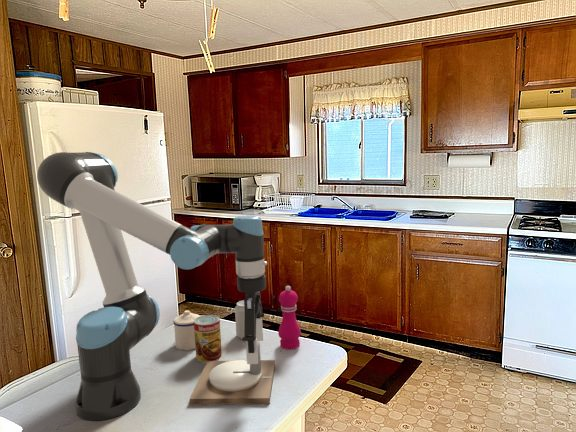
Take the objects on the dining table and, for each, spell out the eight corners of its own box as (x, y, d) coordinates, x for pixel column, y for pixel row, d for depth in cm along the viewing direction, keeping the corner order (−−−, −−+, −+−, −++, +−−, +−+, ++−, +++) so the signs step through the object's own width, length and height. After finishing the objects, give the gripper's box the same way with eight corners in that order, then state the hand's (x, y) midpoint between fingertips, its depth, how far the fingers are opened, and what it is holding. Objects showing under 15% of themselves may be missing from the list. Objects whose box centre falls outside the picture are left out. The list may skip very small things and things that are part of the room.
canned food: (204, 365, 127) (201, 326, 125) (191, 356, 133) (188, 319, 131) (226, 356, 132) (224, 319, 130) (213, 348, 138) (211, 313, 136)
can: (249, 342, 142) (247, 307, 140) (231, 337, 146) (230, 304, 144) (262, 334, 148) (261, 300, 146) (245, 330, 152) (243, 297, 150)
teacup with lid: (204, 348, 138) (202, 314, 137) (175, 352, 136) (172, 317, 134) (201, 334, 150) (199, 302, 148) (174, 338, 147) (172, 305, 146)
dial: (204, 391, 109) (202, 356, 108) (215, 365, 123) (213, 334, 122) (258, 391, 109) (257, 356, 107) (263, 364, 122) (262, 333, 121)
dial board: (190, 404, 107) (189, 398, 106) (207, 365, 126) (207, 360, 126) (269, 403, 106) (269, 397, 106) (275, 364, 126) (274, 359, 125)
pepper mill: (299, 351, 134) (297, 289, 131) (276, 349, 135) (274, 289, 133) (302, 341, 141) (301, 282, 138) (281, 340, 142) (279, 282, 140)
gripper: (260, 288, 99) (265, 374, 102) (269, 262, 124) (272, 332, 127) (228, 289, 100) (234, 374, 102) (243, 263, 124) (247, 332, 127)
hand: (255, 351), depth 115 cm, fingers open, 13 cm apart
